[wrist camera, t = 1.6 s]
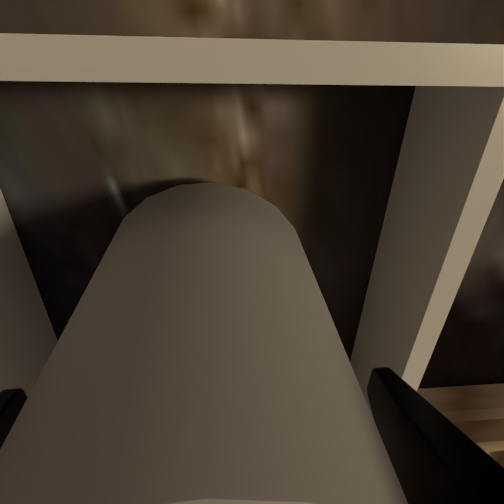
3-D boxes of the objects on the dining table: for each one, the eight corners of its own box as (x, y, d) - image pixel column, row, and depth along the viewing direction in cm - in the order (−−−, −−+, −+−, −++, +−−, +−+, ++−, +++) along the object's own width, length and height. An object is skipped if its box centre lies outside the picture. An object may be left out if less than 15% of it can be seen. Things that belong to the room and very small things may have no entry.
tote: (450, 44, 11) (557, 45, 7) (360, 378, 19) (391, 452, 15) (-90, 32, 10) (-262, 26, 6) (61, 396, 18) (24, 481, 14)
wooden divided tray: (541, 380, 20) (582, 424, 18) (462, 497, 28) (484, 538, 25) (83, 410, 18) (64, 463, 16) (127, 527, 26) (118, 576, 23)
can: (254, 345, 17) (310, 810, 7) (95, 304, 15) (-176, 885, 5) (333, 216, 14) (683, 744, 3) (143, 139, 12) (-447, 913, 1)
